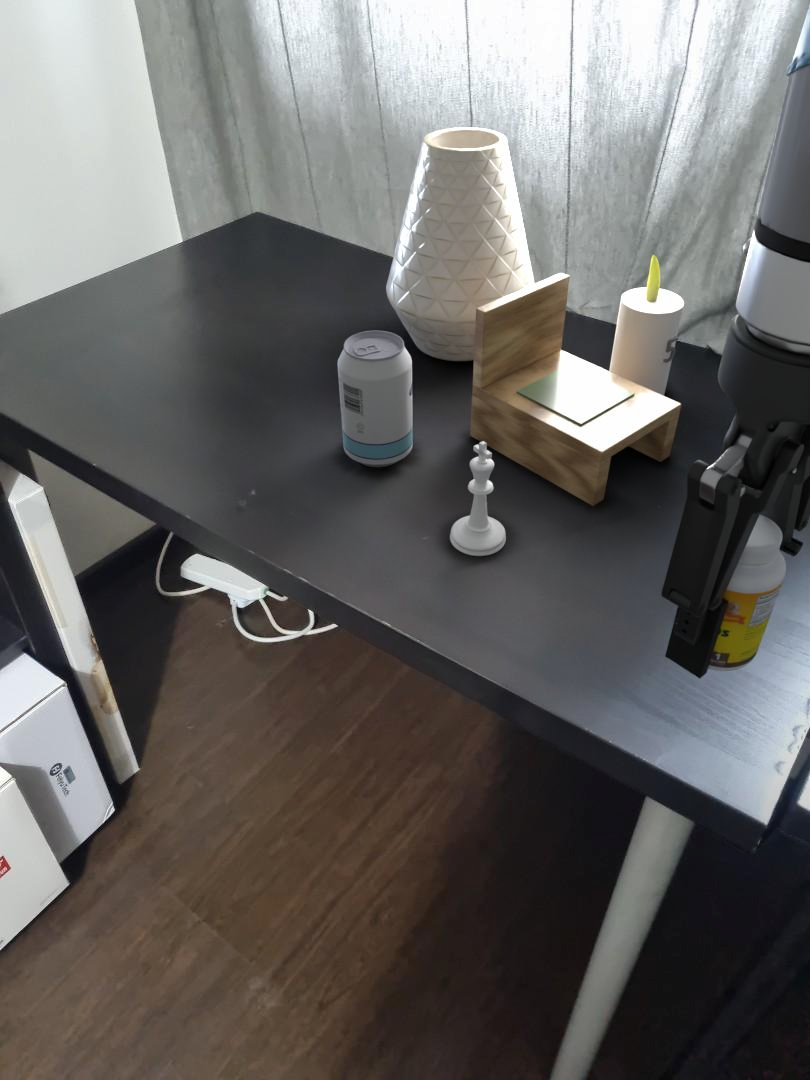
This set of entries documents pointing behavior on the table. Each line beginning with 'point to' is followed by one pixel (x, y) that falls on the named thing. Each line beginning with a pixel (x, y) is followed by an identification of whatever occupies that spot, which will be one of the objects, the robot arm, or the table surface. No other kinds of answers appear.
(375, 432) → the beverage can
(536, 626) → the table surface
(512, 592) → the table surface
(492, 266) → the vase
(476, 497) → the chess piece
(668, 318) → the candle
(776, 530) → the supplement bottle
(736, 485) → the robot arm
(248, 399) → the table surface
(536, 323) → the shelf
